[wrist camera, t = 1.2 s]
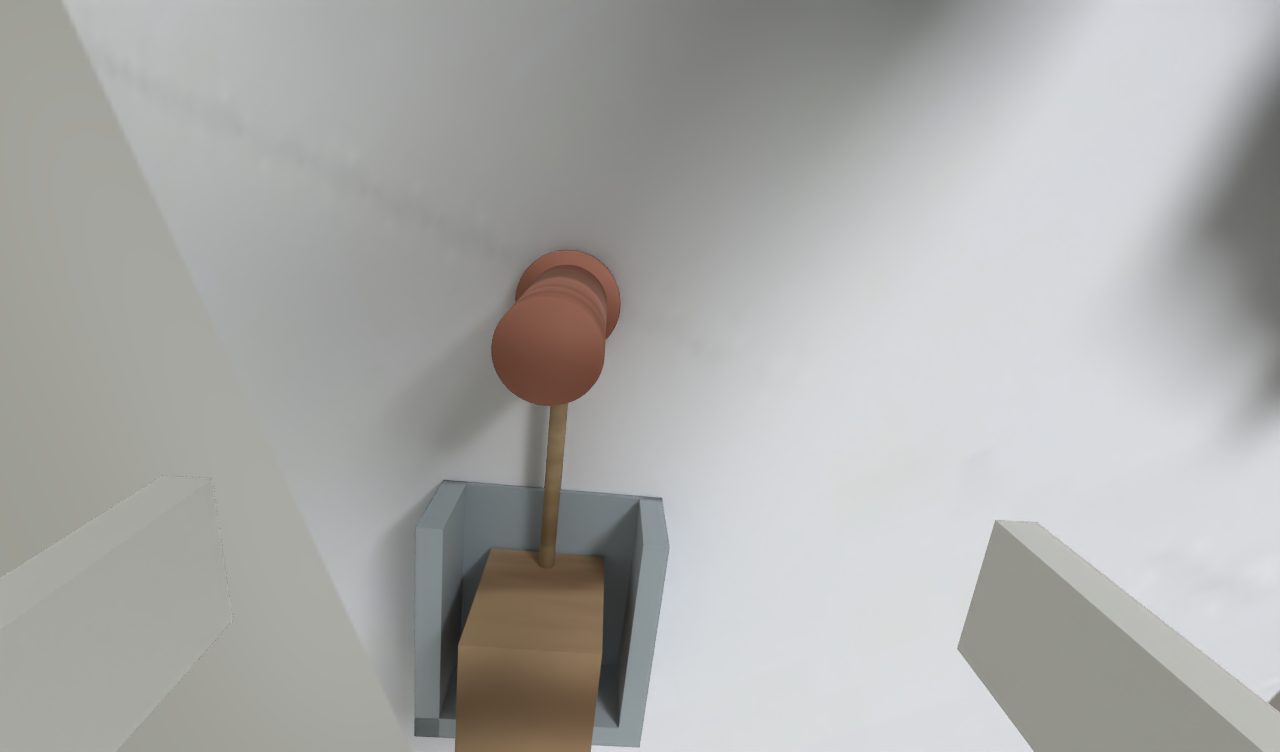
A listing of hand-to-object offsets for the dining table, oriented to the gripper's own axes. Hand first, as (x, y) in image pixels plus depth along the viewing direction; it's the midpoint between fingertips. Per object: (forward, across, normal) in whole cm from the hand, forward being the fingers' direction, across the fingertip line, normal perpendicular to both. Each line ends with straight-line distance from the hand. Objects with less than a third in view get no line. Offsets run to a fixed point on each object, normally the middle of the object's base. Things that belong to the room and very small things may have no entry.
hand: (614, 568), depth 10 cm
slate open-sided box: (+19, -3, -15) cm, 24 cm away
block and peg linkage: (+19, -3, -8) cm, 20 cm away
